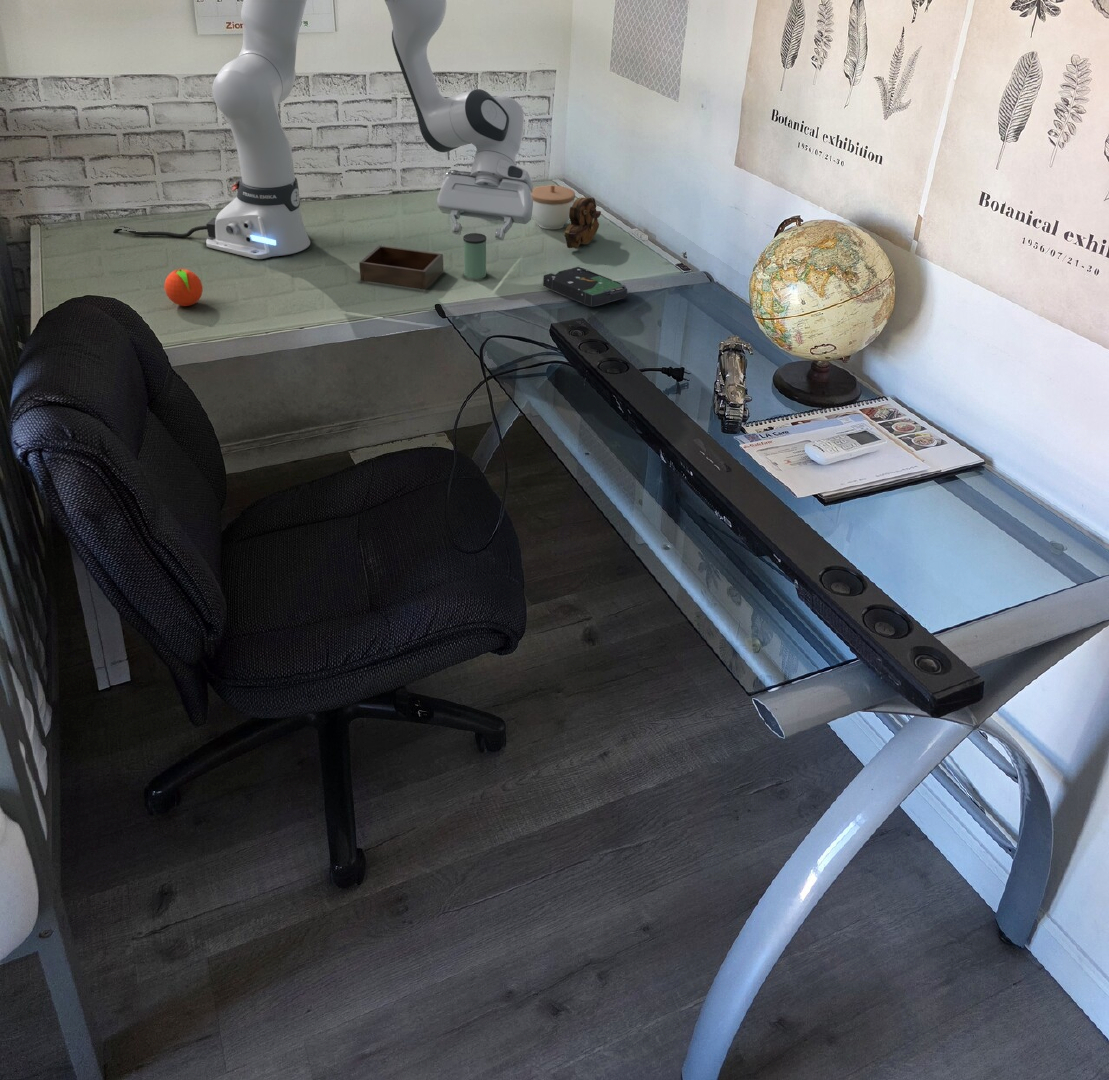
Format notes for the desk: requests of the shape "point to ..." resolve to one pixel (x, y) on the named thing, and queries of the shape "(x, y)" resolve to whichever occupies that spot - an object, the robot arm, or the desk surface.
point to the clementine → (183, 287)
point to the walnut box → (401, 267)
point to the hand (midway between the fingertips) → (477, 236)
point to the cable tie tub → (474, 255)
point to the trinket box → (552, 205)
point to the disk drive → (585, 286)
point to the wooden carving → (582, 222)
